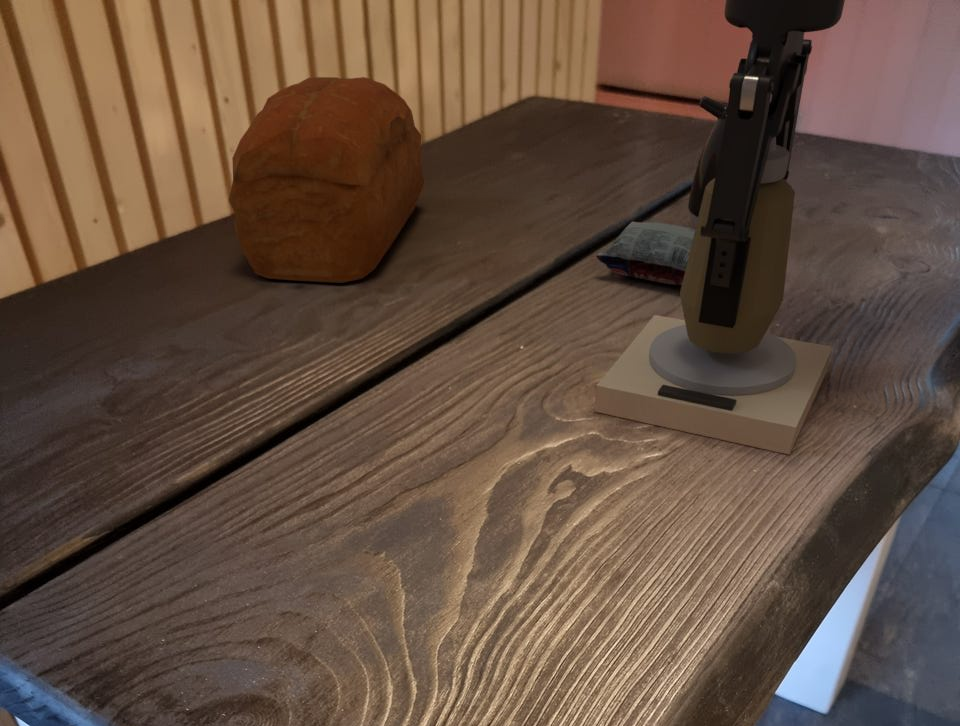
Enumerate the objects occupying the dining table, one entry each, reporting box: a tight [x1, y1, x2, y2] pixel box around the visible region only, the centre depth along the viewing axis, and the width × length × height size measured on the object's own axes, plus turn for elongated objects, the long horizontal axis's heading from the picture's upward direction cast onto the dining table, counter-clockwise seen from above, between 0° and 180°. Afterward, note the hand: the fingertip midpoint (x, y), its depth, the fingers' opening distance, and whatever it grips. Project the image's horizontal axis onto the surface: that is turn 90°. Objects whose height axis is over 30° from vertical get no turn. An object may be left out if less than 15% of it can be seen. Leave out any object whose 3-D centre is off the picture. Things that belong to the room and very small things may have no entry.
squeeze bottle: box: [679, 137, 796, 354], centre depth 70 cm, size 8×8×18 cm
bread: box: [228, 76, 425, 284], centre depth 101 cm, size 16×27×16 cm, turn 170°
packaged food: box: [595, 221, 695, 286], centre depth 96 cm, size 9×12×5 cm
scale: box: [594, 314, 834, 456], centre depth 77 cm, size 16×15×3 cm
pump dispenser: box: [687, 95, 728, 229], centre depth 99 cm, size 10×10×15 cm
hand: (731, 302), depth 74 cm, fingers closed on squeeze bottle, 8 cm apart
